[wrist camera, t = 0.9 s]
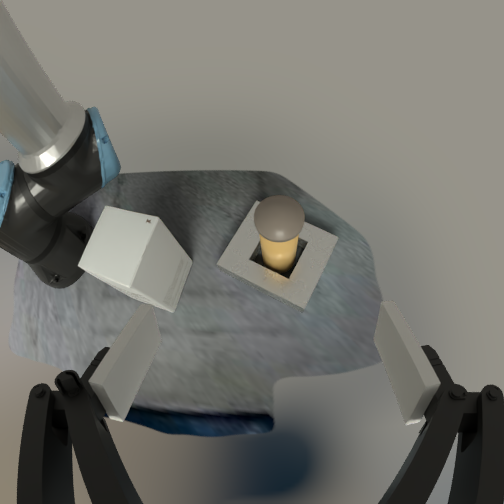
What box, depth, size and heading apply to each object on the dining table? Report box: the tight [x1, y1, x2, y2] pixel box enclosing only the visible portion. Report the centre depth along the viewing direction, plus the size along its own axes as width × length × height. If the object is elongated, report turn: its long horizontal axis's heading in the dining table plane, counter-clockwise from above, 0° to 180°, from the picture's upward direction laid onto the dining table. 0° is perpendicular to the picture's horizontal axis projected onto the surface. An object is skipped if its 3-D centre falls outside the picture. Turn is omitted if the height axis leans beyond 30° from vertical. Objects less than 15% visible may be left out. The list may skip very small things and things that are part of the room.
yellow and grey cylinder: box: [254, 195, 305, 274], centre depth 39 cm, size 6×6×13 cm
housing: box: [217, 201, 339, 313], centre depth 44 cm, size 14×12×3 cm
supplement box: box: [78, 206, 193, 312], centre depth 38 cm, size 9×9×15 cm
